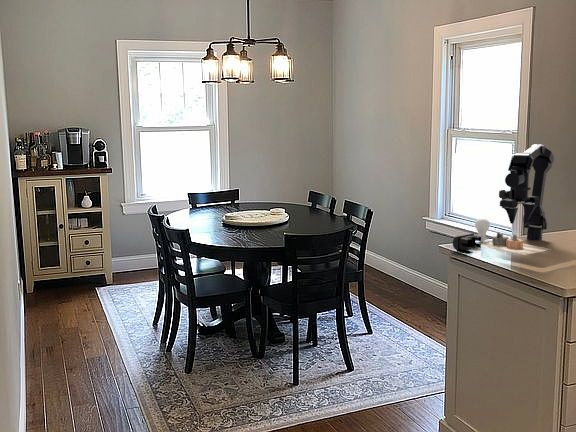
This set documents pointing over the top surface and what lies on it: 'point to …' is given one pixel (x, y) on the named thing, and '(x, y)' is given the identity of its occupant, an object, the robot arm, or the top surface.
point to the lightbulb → (482, 227)
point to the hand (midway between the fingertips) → (519, 222)
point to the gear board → (500, 244)
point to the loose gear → (514, 243)
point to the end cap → (466, 243)
